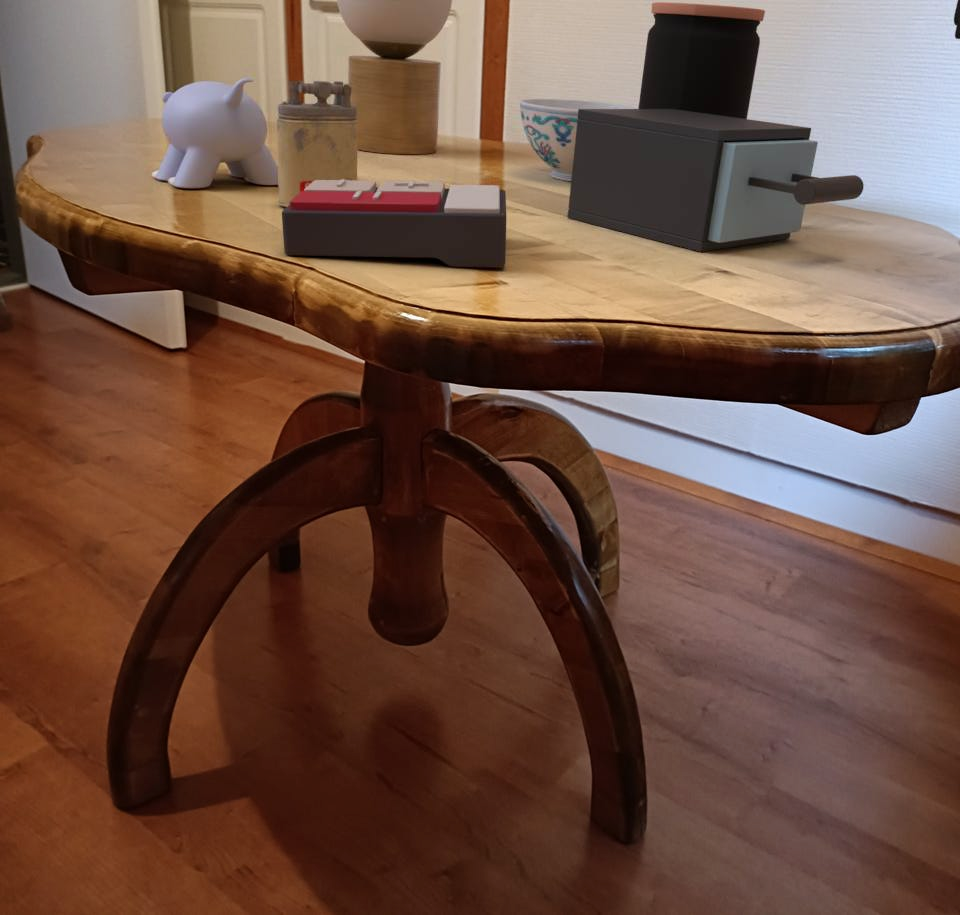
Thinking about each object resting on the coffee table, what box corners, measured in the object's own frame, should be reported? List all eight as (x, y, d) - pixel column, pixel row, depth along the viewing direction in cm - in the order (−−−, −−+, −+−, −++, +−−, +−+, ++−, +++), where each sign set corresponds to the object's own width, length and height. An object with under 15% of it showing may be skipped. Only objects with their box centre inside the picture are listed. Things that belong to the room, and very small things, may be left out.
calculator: (309, 175, 73) (505, 178, 73) (312, 232, 75) (504, 235, 75) (279, 199, 63) (506, 203, 63) (283, 264, 65) (505, 268, 65)
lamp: (332, 136, 128) (332, -77, 118) (436, 141, 131) (446, -66, 121) (337, 151, 115) (339, -88, 104) (454, 156, 117) (466, -76, 107)
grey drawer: (864, 245, 77) (886, 151, 74) (785, 259, 70) (806, 155, 67) (674, 203, 90) (686, 122, 87) (591, 211, 83) (601, 123, 80)
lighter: (288, 211, 79) (286, 81, 75) (269, 203, 82) (266, 77, 78) (364, 207, 83) (366, 83, 79) (344, 199, 86) (345, 79, 82)
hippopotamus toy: (233, 165, 99) (229, 66, 96) (301, 189, 89) (300, 79, 85) (129, 168, 93) (120, 63, 89) (189, 195, 83) (182, 76, 79)
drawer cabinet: (789, 238, 83) (811, 127, 79) (700, 252, 75) (720, 130, 71) (658, 208, 92) (672, 108, 89) (567, 217, 85) (578, 108, 81)
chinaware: (519, 184, 101) (525, 106, 97) (510, 165, 114) (515, 95, 111) (660, 193, 101) (671, 116, 98) (634, 172, 115) (643, 104, 112)
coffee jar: (741, 200, 101) (774, 12, 94) (720, 213, 92) (755, 7, 85) (643, 187, 105) (667, 5, 97) (614, 199, 96) (638, 0, 88)
